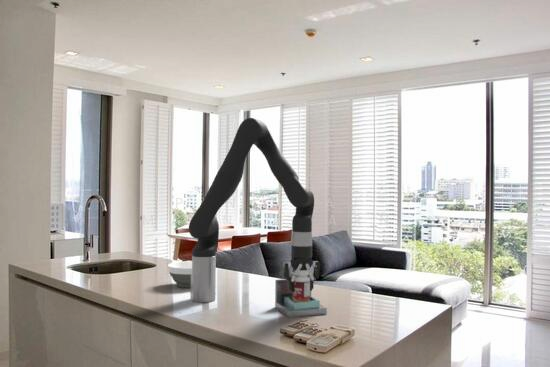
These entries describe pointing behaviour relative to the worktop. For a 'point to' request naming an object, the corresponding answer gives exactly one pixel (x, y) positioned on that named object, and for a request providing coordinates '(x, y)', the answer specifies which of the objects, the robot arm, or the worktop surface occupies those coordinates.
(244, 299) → the worktop surface
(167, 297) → the worktop surface
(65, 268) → the worktop surface
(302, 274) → the pill bottle
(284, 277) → the robot arm
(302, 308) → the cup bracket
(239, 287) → the worktop surface
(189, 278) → the bowl
